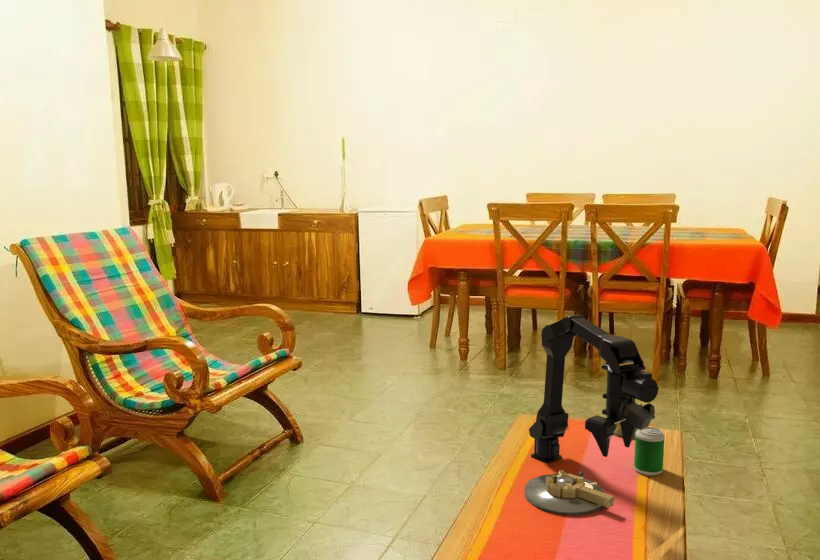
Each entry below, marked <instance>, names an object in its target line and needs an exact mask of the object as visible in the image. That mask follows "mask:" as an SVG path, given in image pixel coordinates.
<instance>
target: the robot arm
mask: <svg viewBox="0 0 820 560" xmlns="http://www.w3.org/2000/svg"><path fill="white" fill-rule="evenodd" d="M540 336H541V346H542V348H543V349H544V351H545V353H546V361H545V362H546V363H545V364H546V365H545V378H544V379H545V381H544V393H543V395H544V396H543V404H542V405H541V406H540V407H539V409H538V411H537V414H536V417H535V422H534V423H533V424H532V425H531V426H530V427H529V428H528V431H529V437H530V438H533V439H534V449H533V450H534V451H533V453H531V454H530V457H531V458H534V459H536V460H539V461H542V462H544V463H547V464H549V463H551V462H554V461H557V460H559V459H561V458H562V457H563V456H562V455H561V454H560V451H561V449H560V443H559V442H560V438H564V436H565V433H566V431H567V428H568V427H569V423H568V422H569V413H567V412H566V411H565V409H564V407H563V405H562V403H563V392H564V391H563V390H564V380H565V366H566V364H565V363H566V356H567V355H568V353H569V352H570V350H571V349H572V346H573V343H574V338H575V337H579V338H580V339H581V340H583V341H585V342H586V343H588V344H589V345H591V346H592V347H593V348H596V350H598V353H599V356H600V357H601V359H602V360H603V361H605V363H604V364H602V365H601V367H600V368H601V369H602V370H605V371H606V391H605V392H604V393H602V398H603V399H604V400H605V399H606V400H605V401H606V402H605V408H603V409H602V410H601V415H604V416H600V415H598V414H596V415H594V416H590V417H588V418H587V419H586V420H584V429H585V430H587V431H588V432H590V433H591V434H592V436H593V438H594V441H595V442H596V444H597V446H598V448H599V451H600V453H601V455H602V457H605V458H607V457H608V455H609V452H610V451H609V450H610V444H611V438H612V437H613V436H615V435H614V434H615V433H613V432H614V430H615V424H616V423H619V422H620V425H621V431H622V436H623V437H622V441H623V445H624V447H625V448H630V446H631V443H632V441H633V440H634V439H633V436H634V434H635V431H636V429H643V428H644V427H646V426H647V427H650V424H651V421H652V420H655V418H656V416H655V415H656V414H655V413H656V410H655V409H656V408H655V405H653V403H652V402H653V401H654V400H655V399H656V398H657V396H658V393H659V390H660V389H659V388H660V387H659V385H658V382H657V381H656V380H655V379H654V378H653V374H652V373H651V372H647V371H645V370H646V367H645V364H644V360H643V359H642V357H641V355H640V352H639V349H638V347H637V345H636V343H635V341H633V340H632V339H630V338H627V337H624V336H620V335H614V334H611V333H609V332H607V331H605V330H604V329H602V328H601V327H599V326H598V325H596V324H595V323H593V322H591V321H590V320H588V319H587V318H585V316H584V315H581V314H574V315H573V314H571V315H566V316H564V317H563V318H562V319H560V320H558V321H556V322H553V323H551V324H547V325H545V326H544V327H542V328H541V334H540ZM636 400H638V401H640V402H643V403H646V404H642V403H640V404H639V403H637V402H636ZM605 416H606V417H605Z"/></svg>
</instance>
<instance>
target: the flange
mask: <svg viewBox="0 0 820 560" xmlns="http://www.w3.org/2000/svg"><path fill="white" fill-rule="evenodd" d="M551 474H552V473H551ZM551 474H550V473H549V474H543V475H539V476H535V477H534V478H531V479H529V480H528V481H527V482H526V483H525V486H524V497H525V499H526V500H527V502H528V503H530V504H531V505H532V506H533V507H536V508H537V509H540V510H542V511H545V512H548V513H551V514H555V515H562V516H563V515H564V516H585V515H590V514H593V513H596V512H598V511H600V510H601V509H602V508H603V507H604V506H602V505H599V504H596V503H594V502H591V501H588V500H585V499H583V498H580V497H575V498H562V497H557V496H554V495H551V494H549V493H548V492H547V490H546V487H545V480H546V477H547V476H549V475H551ZM584 474H585V473H584V472H583V471H579V472H578V477H583V478H584V482H587V483H589V484H590V485H592V486H593V489H594V490H597V491H600V492H603V493H606V492H605V490H604V489H603V487H602V486H600V485H599V483H598V482H596V481H592V480H590V479H588V478H585V477H584ZM565 483H570V484H571V486H573V479H572V478H570V477H566V476H561V477H558V478H557V484H558V485H561V486H565Z"/></svg>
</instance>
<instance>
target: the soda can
mask: <svg viewBox="0 0 820 560" xmlns="http://www.w3.org/2000/svg"><path fill="white" fill-rule="evenodd" d="M634 440H635V441H634V442H635V443H634V457H633V459H634V463H633V467H634V470H635V471H636V472H638V473H639V474H641V475H643V474H644V475H643V476H647V477H649V476H650V477H654V476H658V475H661V474H662V473H663V470H664V454H665V453H664V451H665V434H664V433H663V432H662V430H661V429H658V428H657V427H653V426H648V427H644V428H643V429H639V430H638V431H636V436H635V439H634Z"/></svg>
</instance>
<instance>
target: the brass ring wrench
mask: <svg viewBox="0 0 820 560" xmlns="http://www.w3.org/2000/svg"><path fill="white" fill-rule="evenodd" d="M548 475H549V474H548ZM561 476H566V477H570V478H572V479H573V486H571V484H570V483H565V486H561V485H558V484H557V478H558V477H561ZM584 478H585V477H584V476H583V477H579V475H575V474H572V473H568V472H565V470H564V469H559V470H558V472H555V473H551V475H549V476H547V477H546V480H545V487H546V490H547V492H548V493H549V494H551V495H554V496H557V497H562V498H575V497H580V498H583V499H585V500H588V501H591V502H594V503H596V504H599V505H602V506H603V507H605V508H608V509H610V508H611V507H613V506H614V503H615V501H614V500H615V496H614V495H611V494H609V493H606V492H605V493H603V492H600V491H597V490H594V489H591V488H588V487H585V483H584Z"/></svg>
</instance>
